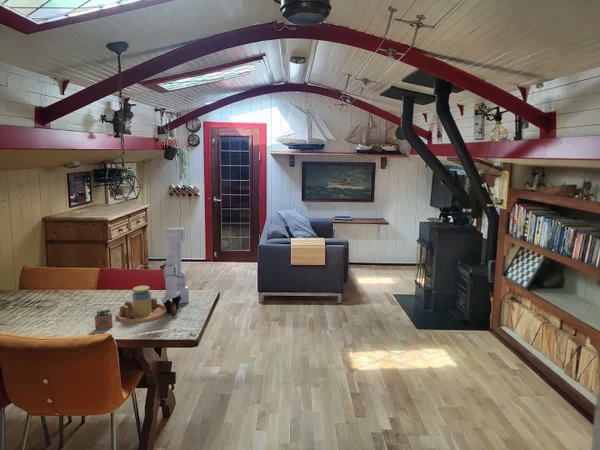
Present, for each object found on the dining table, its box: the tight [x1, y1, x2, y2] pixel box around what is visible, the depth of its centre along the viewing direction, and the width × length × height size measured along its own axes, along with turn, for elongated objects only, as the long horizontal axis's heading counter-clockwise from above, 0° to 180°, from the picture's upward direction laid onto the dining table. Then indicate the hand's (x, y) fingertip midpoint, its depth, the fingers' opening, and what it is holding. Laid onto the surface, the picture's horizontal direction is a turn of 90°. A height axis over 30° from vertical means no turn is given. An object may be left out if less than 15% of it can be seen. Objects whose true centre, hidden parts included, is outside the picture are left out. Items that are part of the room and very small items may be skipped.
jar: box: [132, 285, 153, 317], centre depth 233 cm, size 9×9×15 cm
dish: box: [116, 302, 168, 324], centre depth 234 cm, size 25×25×2 cm
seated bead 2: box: [124, 300, 133, 309], centre depth 236 cm, size 4×4×5 cm
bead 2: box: [169, 304, 177, 316], centre depth 235 cm, size 4×4×5 cm
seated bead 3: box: [126, 309, 136, 319], centre depth 225 cm, size 4×4×5 cm
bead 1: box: [151, 297, 158, 309], centre depth 242 cm, size 4×4×5 cm
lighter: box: [94, 308, 114, 331], centre depth 214 cm, size 8×3×10 cm, turn 117°
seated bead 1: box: [119, 305, 128, 317], centre depth 230 cm, size 4×4×5 cm
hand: (172, 311), depth 235 cm, fingers open, 5 cm apart
